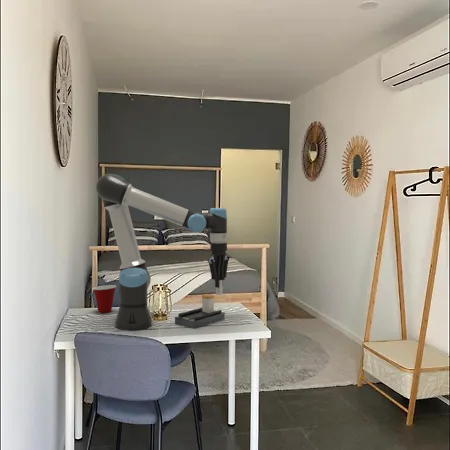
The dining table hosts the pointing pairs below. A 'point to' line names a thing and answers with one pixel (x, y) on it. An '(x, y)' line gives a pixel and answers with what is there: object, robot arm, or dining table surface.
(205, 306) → the switch knob
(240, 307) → the dining table surface
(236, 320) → the dining table surface
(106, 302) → the plastic cup
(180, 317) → the switch panel
